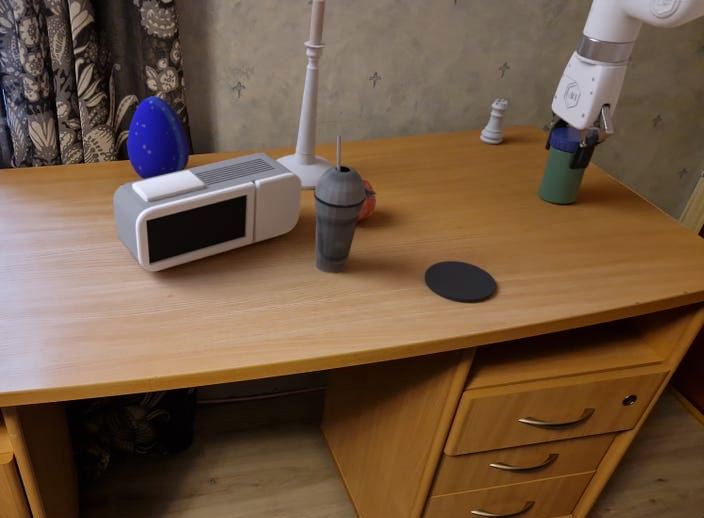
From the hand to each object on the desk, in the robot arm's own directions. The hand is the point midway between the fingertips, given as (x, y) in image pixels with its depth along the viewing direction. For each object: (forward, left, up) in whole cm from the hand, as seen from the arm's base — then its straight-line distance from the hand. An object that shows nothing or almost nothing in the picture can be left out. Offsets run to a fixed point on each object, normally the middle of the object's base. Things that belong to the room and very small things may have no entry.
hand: (565, 157), depth 116 cm
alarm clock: (+62, +13, -7) cm, 64 cm away
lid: (0, 0, +4) cm, 4 cm away
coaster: (+26, +26, -7) cm, 37 cm away
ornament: (+70, -10, -7) cm, 71 cm away
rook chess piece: (+2, -24, -7) cm, 25 cm away
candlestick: (+43, -11, -7) cm, 45 cm away
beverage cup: (+44, +20, -7) cm, 49 cm away
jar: (-1, +1, -7) cm, 7 cm away
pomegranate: (+38, +6, -7) cm, 39 cm away
